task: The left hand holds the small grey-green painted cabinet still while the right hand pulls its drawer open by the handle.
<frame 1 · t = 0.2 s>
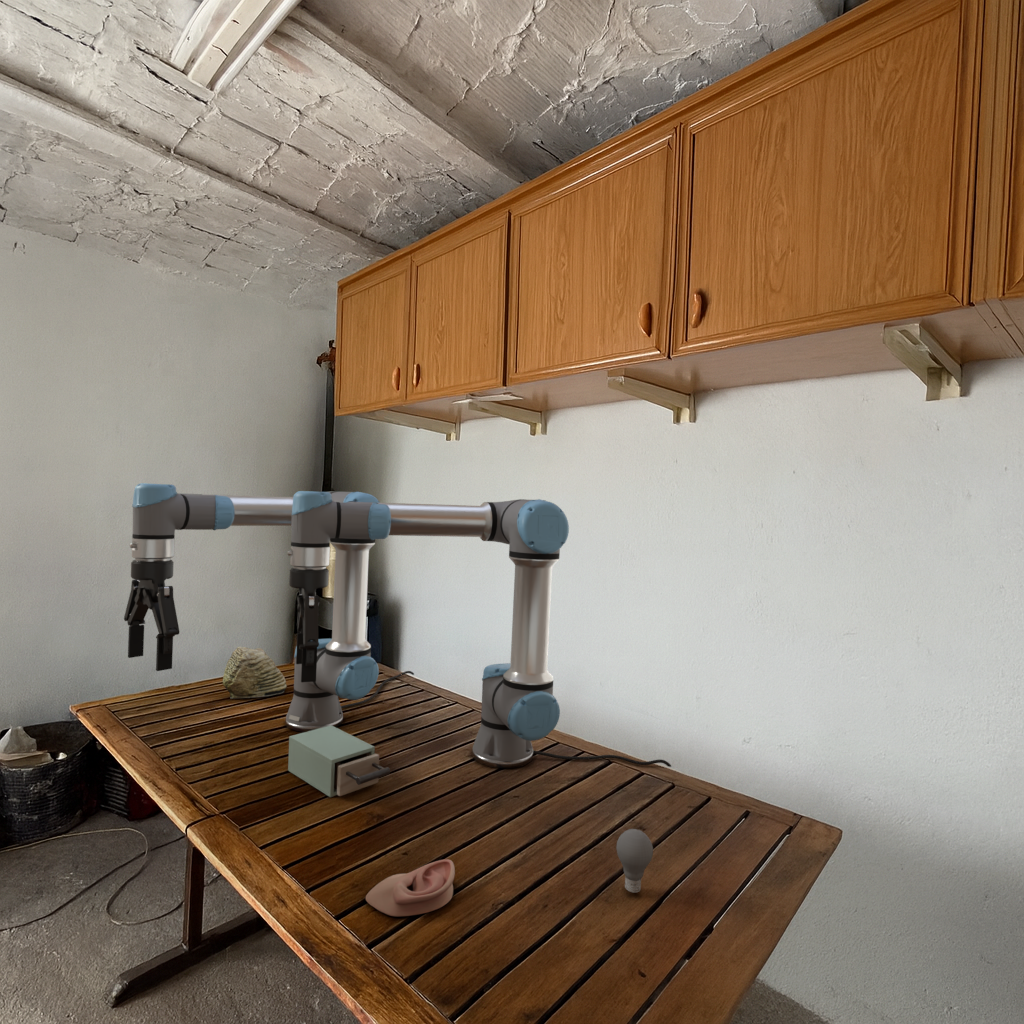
left hand: (149, 663, 129), 28 cm above the table, tool pointing down, fingers open, 13 cm apart
right hand: (305, 672, 128), 28 cm above the table, tool pointing down, fingers open, 13 cm apart
anatomical model: (410, 896, 102), on the table
cabinet: (330, 776, 144), on the table
light bulb: (632, 891, 106), on the table
fossil: (254, 694, 198), on the table
drawer: (345, 767, 140), point 4 cm above the table, slide at 1.4 cm
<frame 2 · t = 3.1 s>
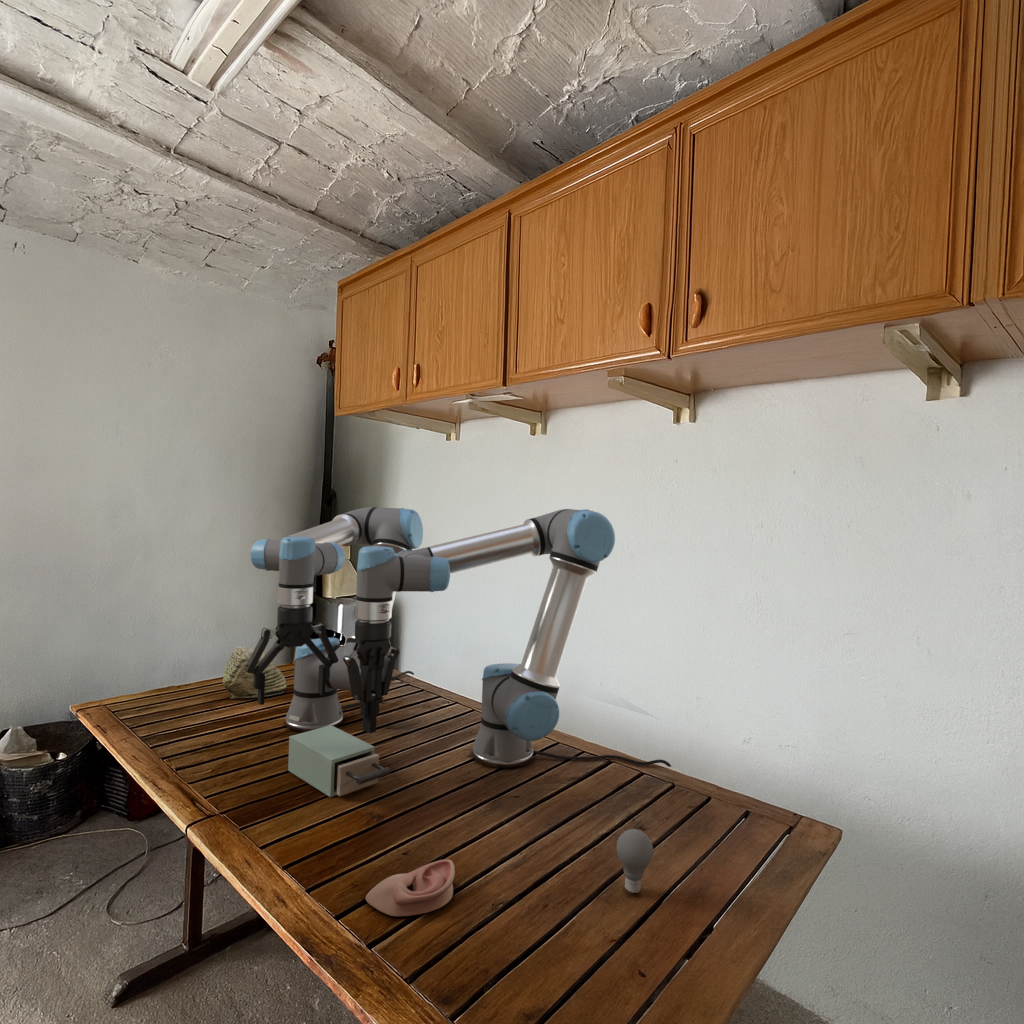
left hand: (292, 698, 144), 17 cm above the table, tool pointing down, fingers open, 13 cm apart
right hand: (369, 730, 134), 14 cm above the table, tool pointing down, fingers closed
nothing on the table moved.
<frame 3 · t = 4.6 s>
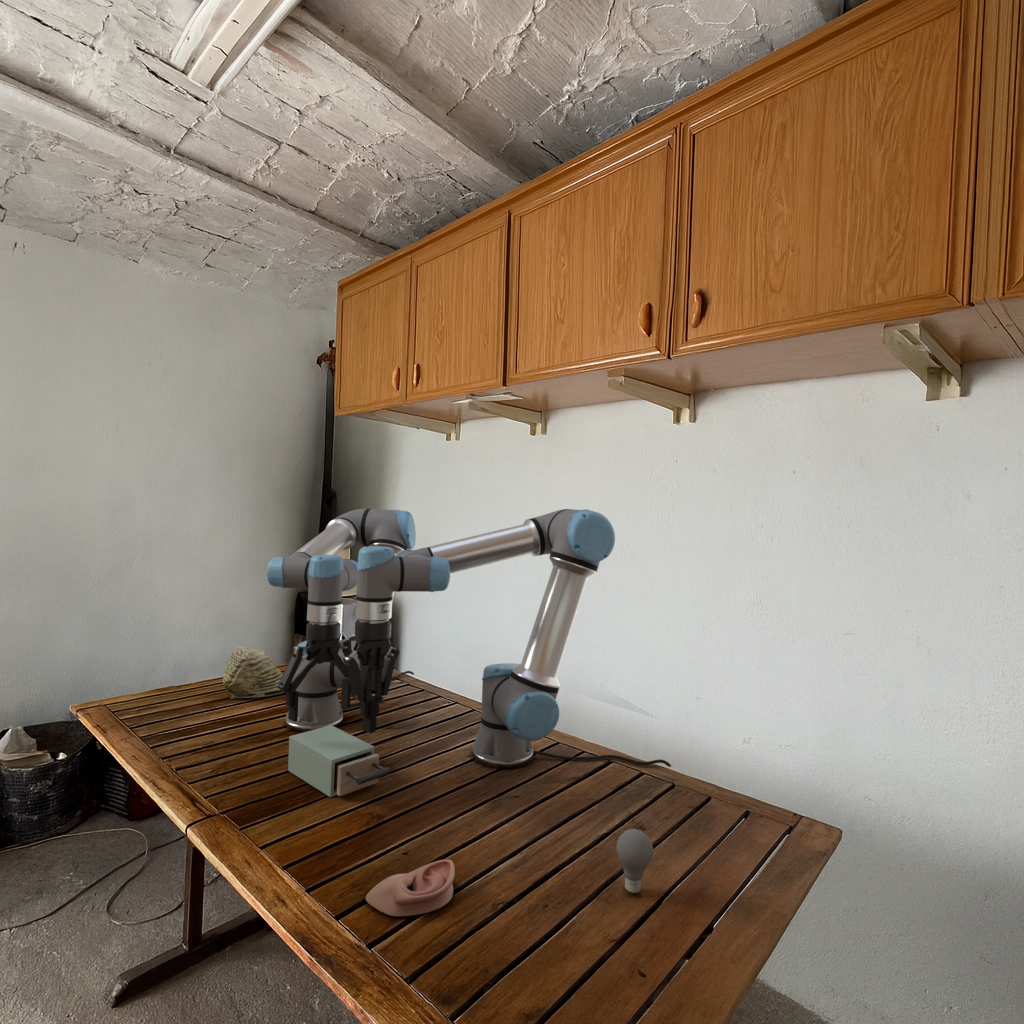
left hand: (320, 713, 147), 13 cm above the table, tool pointing down, fingers open, 13 cm apart
right hand: (369, 730, 134), 14 cm above the table, tool pointing down, fingers closed
nothing on the table moved.
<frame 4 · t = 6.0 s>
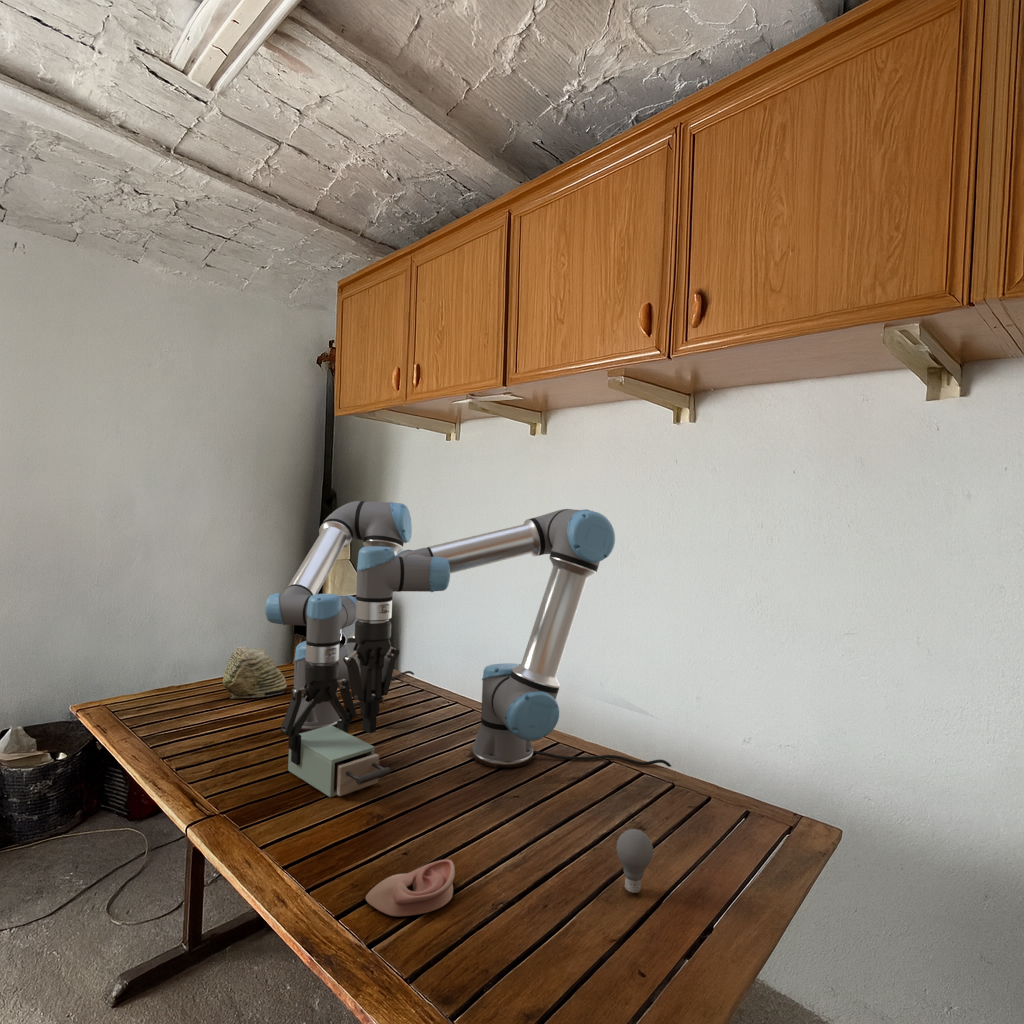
left hand: (318, 755, 147), 3 cm above the table, tool pointing down, fingers closed on cabinet, 11 cm apart
right hand: (369, 730, 134), 14 cm above the table, tool pointing down, fingers closed
cabinet: (330, 776, 144), on the table, touching left hand
everything else where it was.
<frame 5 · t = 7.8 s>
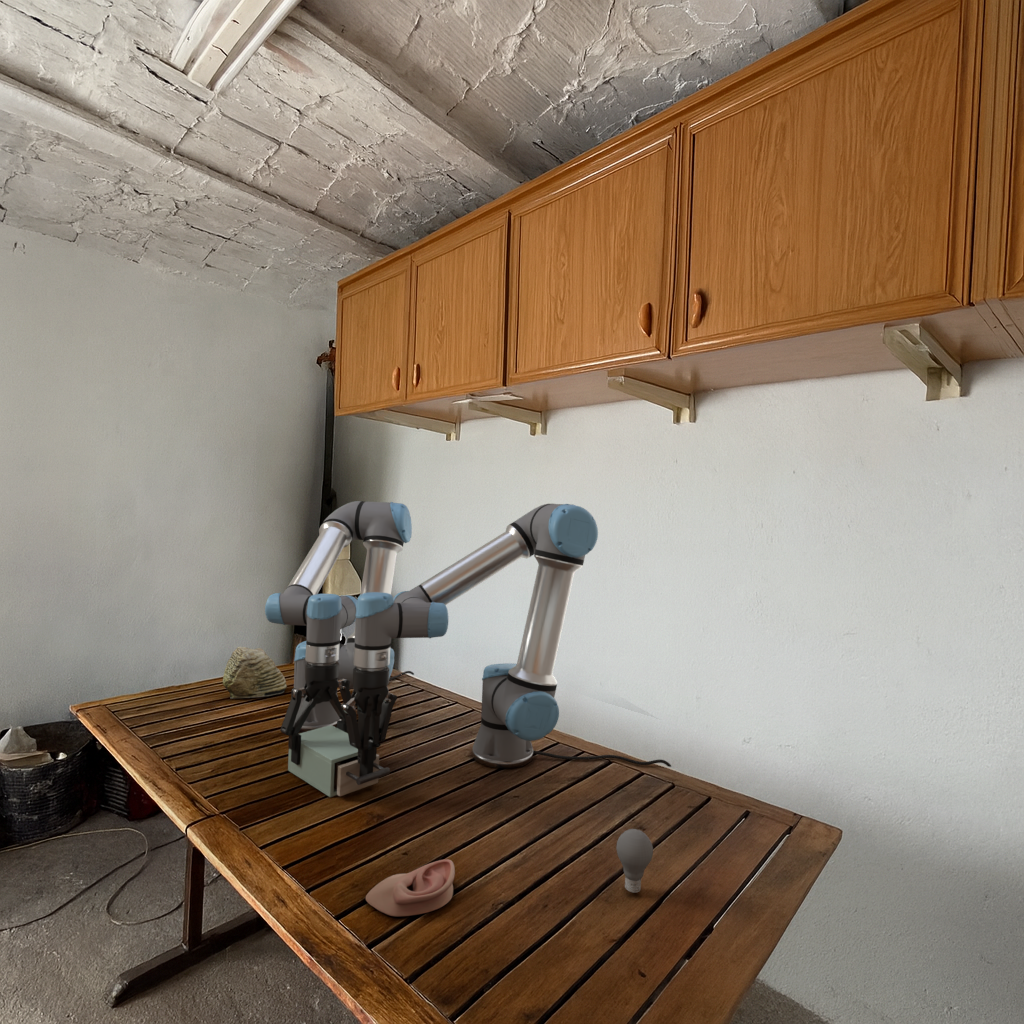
left hand: (318, 755, 147), 3 cm above the table, tool pointing down, fingers closed on cabinet, 11 cm apart
right hand: (366, 777, 134), 4 cm above the table, tool pointing down, fingers closed
cabinet: (329, 776, 144), on the table, touching left hand
everything else where it was.
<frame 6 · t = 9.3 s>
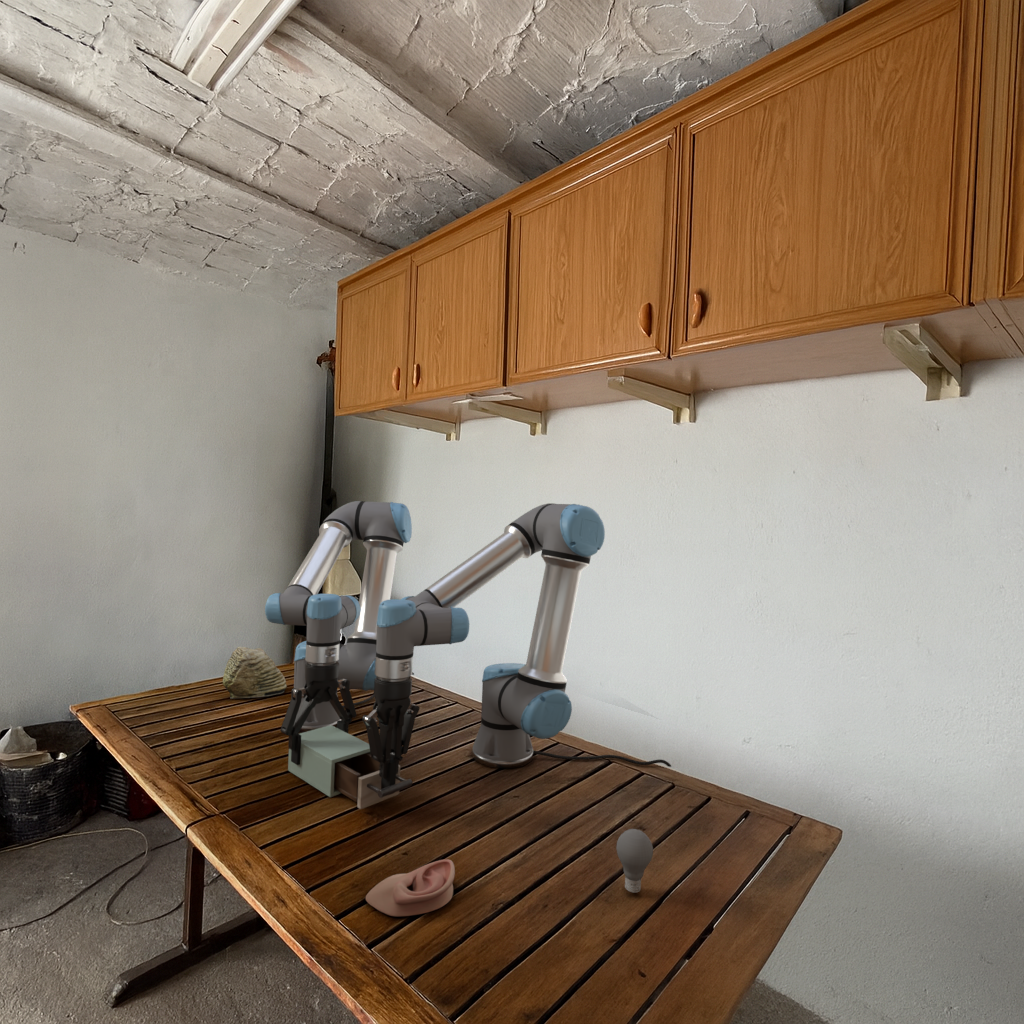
left hand: (318, 755, 147), 3 cm above the table, tool pointing down, fingers closed on cabinet, 11 cm apart
right hand: (387, 791, 129), 4 cm above the table, tool pointing down, fingers closed
cabinet: (330, 776, 144), on the table, touching left hand
drawer: (365, 778, 135), point 4 cm above the table, slide at 8.9 cm, touching right hand
everything else where it was.
when the left hand's fingers open (3 cm above the table, at t = 11.3 s): cabinet stays where it is, on the table.
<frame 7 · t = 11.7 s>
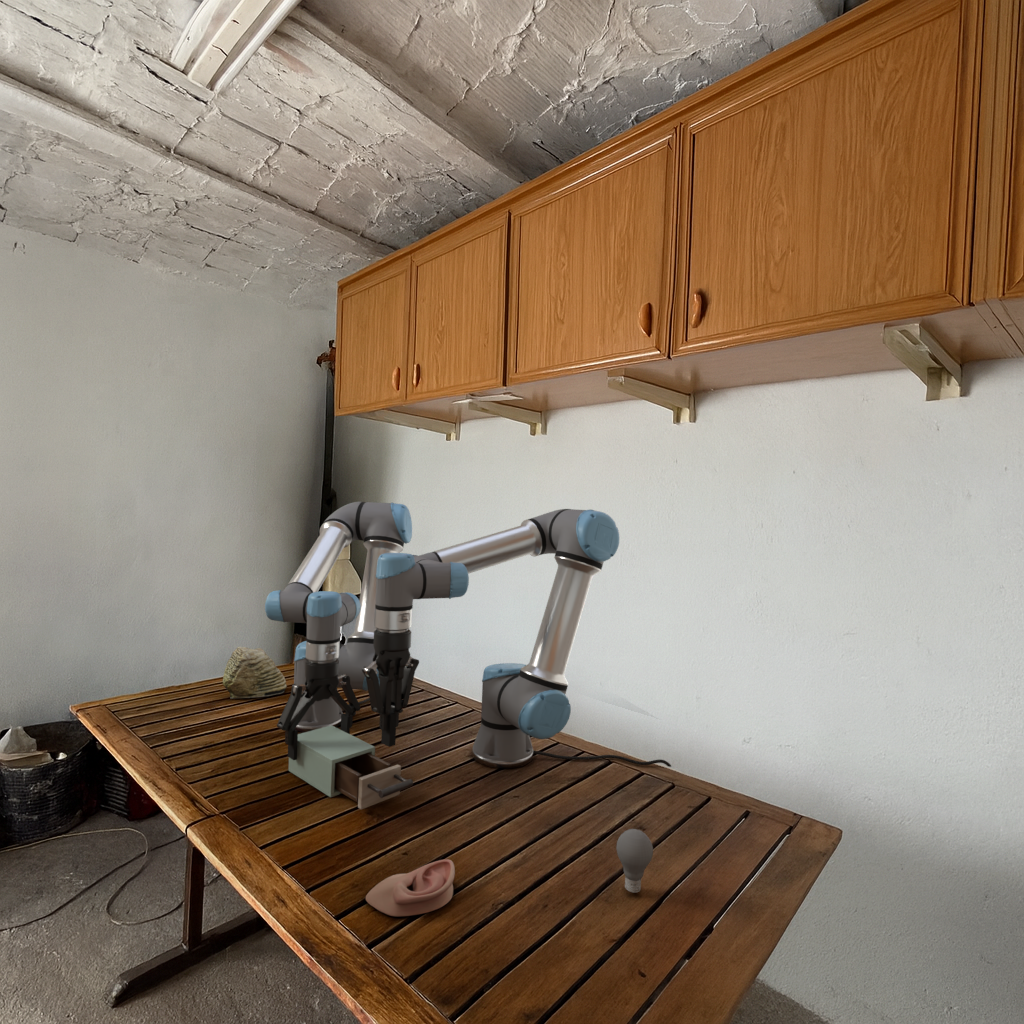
left hand: (319, 749, 147), 4 cm above the table, tool pointing down, fingers open, 13 cm apart
right hand: (388, 743, 129), 14 cm above the table, tool pointing down, fingers closed
cabinet: (330, 776, 144), on the table
drawer: (365, 778, 135), point 4 cm above the table, slide at 8.9 cm
everything else where it was.
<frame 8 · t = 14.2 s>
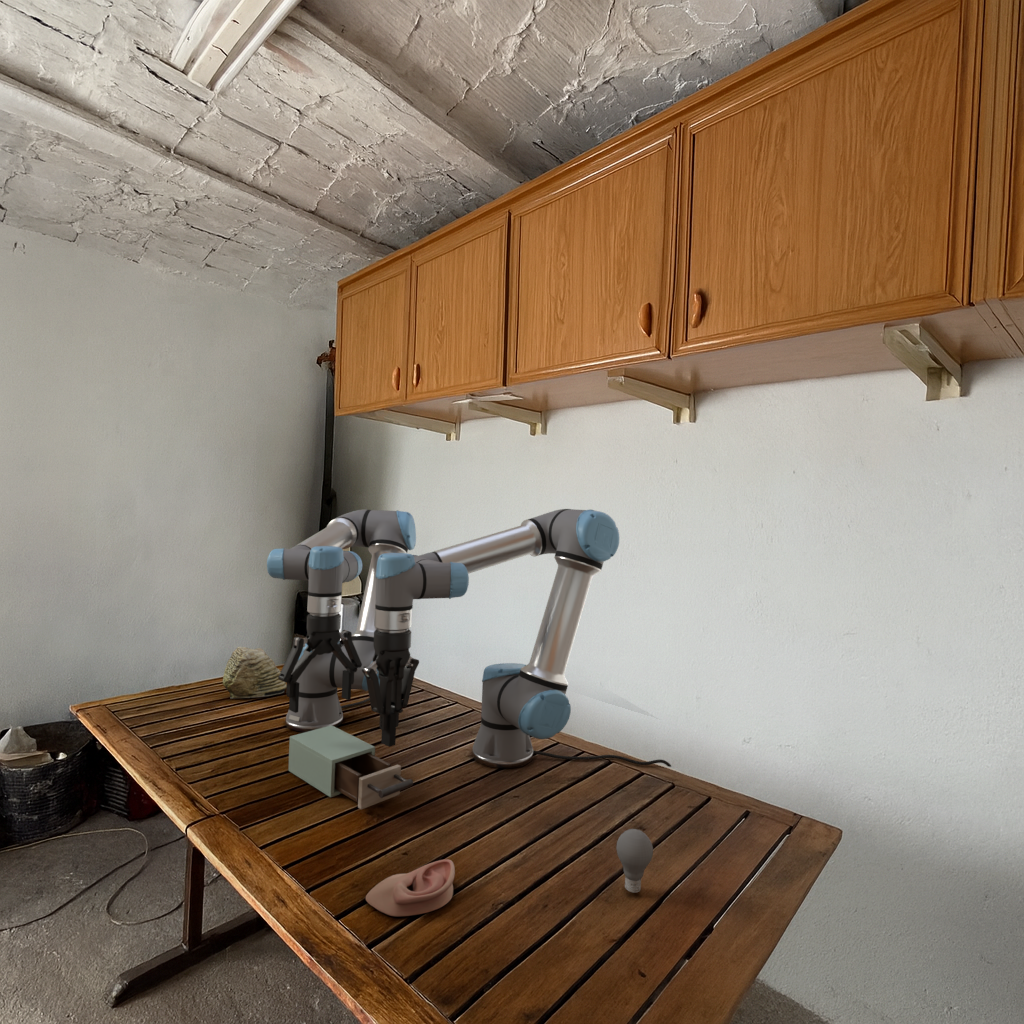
left hand: (320, 704, 147), 15 cm above the table, tool pointing down, fingers open, 13 cm apart
right hand: (388, 743, 129), 14 cm above the table, tool pointing down, fingers closed
nothing on the table moved.
at the end: drawer slide at 8.9 cm; cabinet tilted 0°; cabinet never tilted more than 1° during the clip; cabinet moved 0.1 cm from its start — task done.
